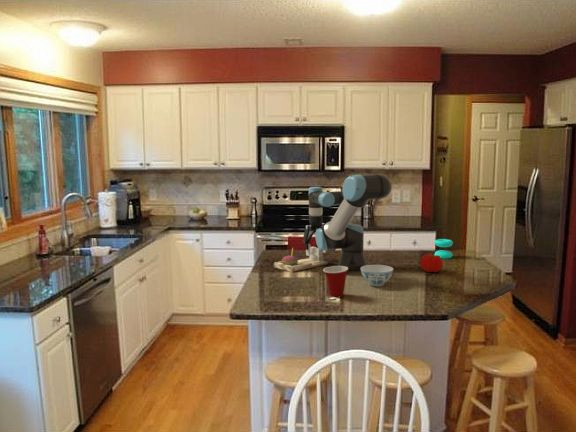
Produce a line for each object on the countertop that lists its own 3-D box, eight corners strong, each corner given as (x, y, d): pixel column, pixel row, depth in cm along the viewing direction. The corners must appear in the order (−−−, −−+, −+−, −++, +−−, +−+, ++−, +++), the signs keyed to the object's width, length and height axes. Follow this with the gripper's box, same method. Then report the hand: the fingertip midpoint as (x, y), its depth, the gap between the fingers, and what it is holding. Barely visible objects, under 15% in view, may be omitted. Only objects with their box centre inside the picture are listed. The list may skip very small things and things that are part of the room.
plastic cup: (321, 292, 220) (321, 265, 218) (345, 291, 221) (345, 264, 219) (325, 299, 209) (325, 271, 208) (350, 298, 210) (350, 270, 208)
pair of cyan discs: (431, 239, 286) (442, 238, 291) (430, 256, 287) (442, 254, 293) (445, 242, 278) (456, 240, 283) (444, 259, 279) (456, 257, 285)
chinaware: (386, 290, 220) (386, 273, 219) (355, 286, 228) (355, 269, 227) (397, 282, 233) (398, 266, 232) (368, 278, 241) (368, 263, 240)
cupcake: (300, 267, 266) (300, 245, 265) (293, 271, 259) (293, 248, 257) (286, 266, 270) (285, 244, 269) (279, 269, 263) (278, 247, 261)
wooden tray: (328, 264, 272) (327, 249, 271) (291, 272, 256) (291, 256, 255) (309, 259, 283) (309, 245, 282) (274, 267, 267) (273, 252, 266)
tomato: (443, 274, 247) (444, 257, 246) (420, 273, 249) (421, 256, 248) (441, 269, 257) (441, 253, 256) (419, 268, 259) (419, 252, 258)
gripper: (326, 212, 283) (326, 250, 286) (295, 216, 268) (295, 256, 271) (335, 213, 278) (335, 251, 281) (304, 217, 263) (304, 258, 266)
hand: (316, 254), depth 276 cm, fingers open, 11 cm apart
